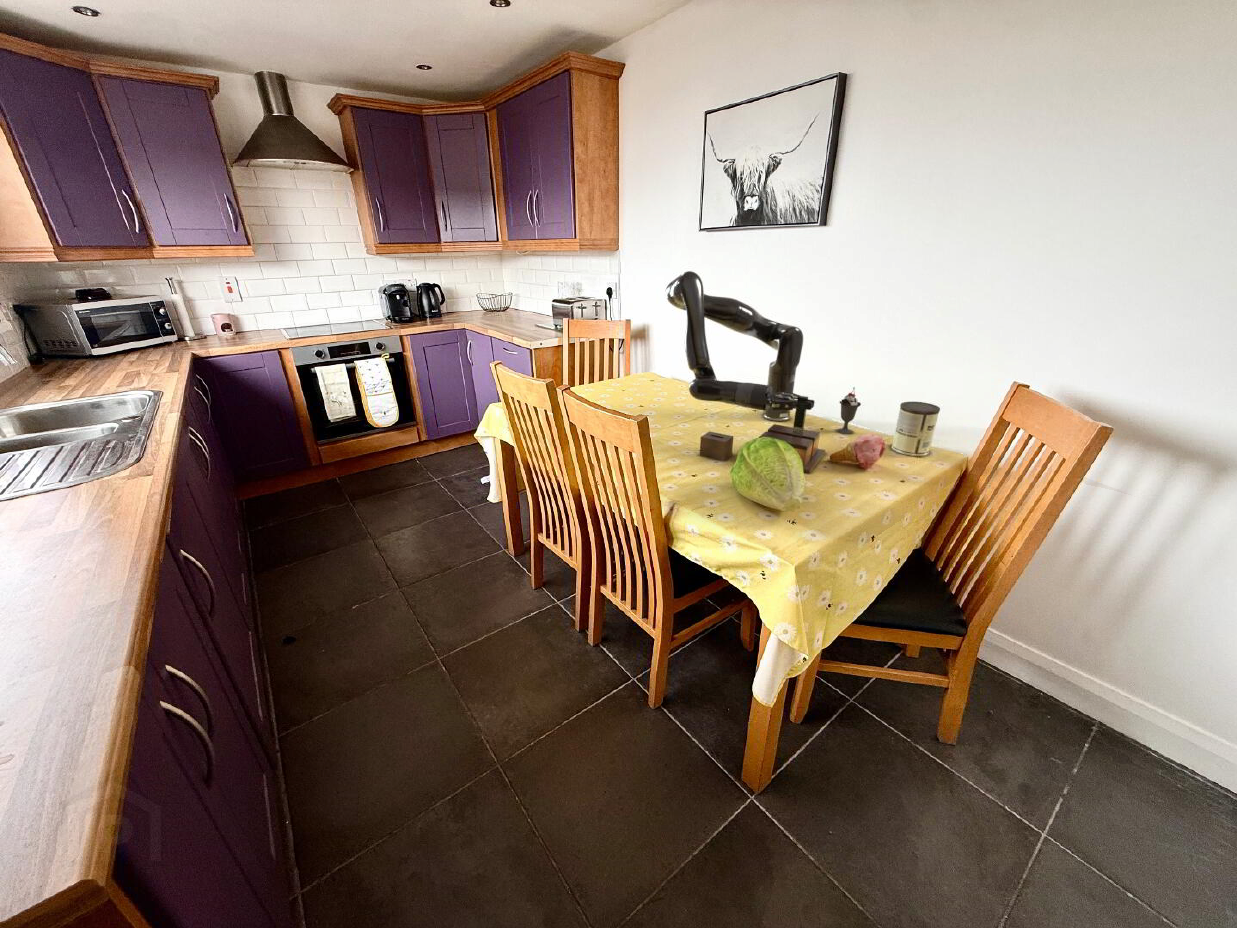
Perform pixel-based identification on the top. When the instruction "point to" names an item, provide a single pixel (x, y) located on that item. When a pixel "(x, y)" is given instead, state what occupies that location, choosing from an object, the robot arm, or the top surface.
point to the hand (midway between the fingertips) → (812, 405)
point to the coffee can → (915, 428)
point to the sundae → (848, 411)
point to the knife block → (716, 445)
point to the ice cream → (862, 451)
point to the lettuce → (770, 474)
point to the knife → (799, 419)
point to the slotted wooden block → (799, 444)
